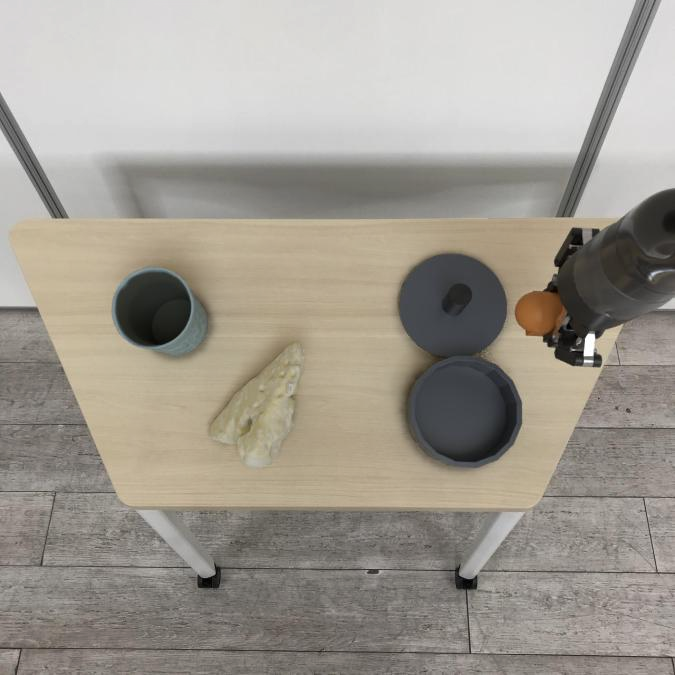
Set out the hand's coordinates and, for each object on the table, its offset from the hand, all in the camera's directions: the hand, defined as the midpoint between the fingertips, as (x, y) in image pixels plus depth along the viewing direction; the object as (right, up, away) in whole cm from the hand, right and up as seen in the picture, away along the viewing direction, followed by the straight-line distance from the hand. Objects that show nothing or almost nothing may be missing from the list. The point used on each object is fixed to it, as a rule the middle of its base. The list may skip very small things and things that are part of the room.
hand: (552, 316), depth 67 cm
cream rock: (-33, -11, +17) cm, 39 cm away
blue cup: (-46, -1, +19) cm, 50 cm away
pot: (-7, -12, +16) cm, 21 cm away
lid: (-8, +2, +18) cm, 20 cm away
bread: (0, 0, 0) cm, 0 cm away
